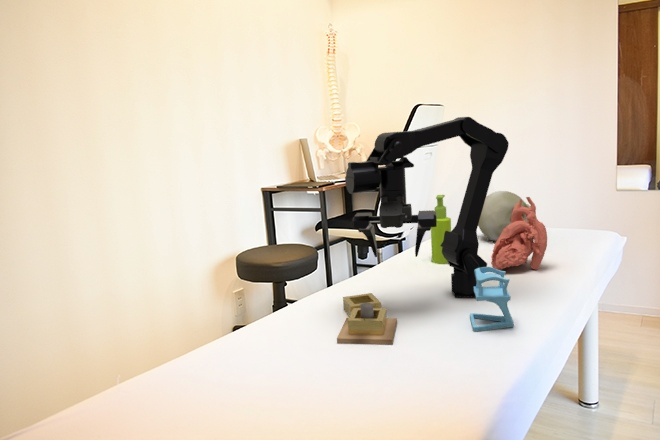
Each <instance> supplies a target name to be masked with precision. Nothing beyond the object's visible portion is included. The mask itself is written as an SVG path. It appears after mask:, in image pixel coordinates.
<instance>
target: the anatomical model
mask: <svg viewBox="0 0 660 440" xmlns="http://www.w3.org/2000/svg"><path fill="white" fill-rule="evenodd" d="M525 198H526V200H527V202H528V203H529V204H528V205H529V206H530V208H527V207H522V206H521V204H522V200H523V199H522V198H521V199H520V202H519V204H518V203H517V204H516V205H515V207H514V209H513V212H512V215H511V224H509V225H508V226H507V227H506V228H505V229H503V231H502V233H501V235H500V237H499V238H498V240H497V241H495V244H494V247H493V250H492V254H491V255H490V257H491V261H490V263H491V266H492V268H495V269H497V270H500V271H503V270H504V269H507V268H511V267H518V266H520V265H523V264H527V262H528V259H529V258H528V257H530V256H531V259H530V262H529V263H530V264H529V265H530V267H531V268H532V269H533V270H539V268H540V266H541V264H542V261H543V259H544V257H545V253H546V250H547V247H548V234H547V233H548V232H547V228H546V225H545V224H544V223H543V222H542V221H540V220H539V219H538V218H537V215H536V211H537V206H536V205H535V203H534V202H533V200H532V198H531V197H530V196H526V197H525ZM522 214H525V215H526V216H527V217H526V219H527V220H528V221H529V222H526V221H525V220H524V219H523V217H522ZM531 254H532V255H531Z"/></svg>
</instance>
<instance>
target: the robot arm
mask: <svg viewBox="0 0 660 440" xmlns="http://www.w3.org/2000/svg"><path fill="white" fill-rule="evenodd" d="M457 137H459V138H460V139H461V140H462V141H463V143H464V144H465V145H467V146H468V147H470V153H469V159H470V162H471V172H470V175H469V178H468V182H467V185H466V190H465V193H464V196H463V200H462V202H461V207H460V211H459V215H458V217H457V220H456V224H455V226H454V227H453V228H452V229H451V232H449V231H445V233H444V240H443V242H442V244H441V245H440V246H441V247H442V254H443V256H444V258H445V259H446V260H447V261H448V263H447V264H448V265H449V267H451V268H453V272H452V273H451V275H450V277H451V280H450V281H451V282H450V283H451V284H450V285H451V293H452V294H453V297H454V298H476V296H475V293H474V286H476V284H477V281H476V277H475V272H474V270H475V269H477V268H481V267H488V263H487V262H486V261H485V260H484V259H483V258H482V257H481V256H480V255H479V253H478V251H479V237H478V233H477V232H478V231H477V230H478V228H479V226H478V224H479V220H480V217H481V213H482V209H483V206H484V202H485V199H486V197H487V196H488V191H489V187H490V184H491V181H492V177H493V174H494V172H495V171H496V169H498V167H499V166H500V165H501V164H502V163H503V162H504V159H505V157H506V154H507V153H508V150H509V144H510V143H509V141H508V139H507V137H506V136H505V135H504V134H503V133H501V132H496V131H494V129H491V128H490V127H487V126H485V125H483V124H481V123H479V122H478V121H476V119H474V118H473V117H470V116H461V117H455V118H454V119H452V120H448V121H444V122H441V123H440V122H439V123H437V124H433V125H429V126H425V127H421V128H418V129H414V130H407V131H406V130H405V131H392V132H391V131H389V132H382V133H380V134H378V135H377V137H376V139H375V141H374V148H373V149H372V150H371V152H370V154H369V156H368V157H367V159H366V161H362V162H361V161H359V162H355V161H352V162H351V161H350V162H347V169H346V173H345V177H344V182H345V188H346V191H347V192H348V193H349V194H351V195H352V194H360V193H371V192H375V191H377V189H378V188H379V191H380V192H379V194H380V204H379V210H378V212H379V213H378V215H373V212H356V214H355V215H354V216H353V217H352V219H351V228H352V230H358V233H362V234H363V235H364V236H365V238H366V239H367V240H368V241H367V242H368V243H369V245H370V246H369V247H370V248H371V251H372V252H373V255H374V258H378V246H377V238H376V237H377V236H376V230H375V226H374V225H379V226H380V228H382V229H387V228H396V229H397V228H399V229H400V228H402V227H403V226H404V224H417V227H416V228H417V229H416V238H415V247H414V248H415V249H414V254H415V257H416V258H417V257H418V255H419V252H420V249H421V244H422V240H423V238H424V236H425V234H426V232H427V231H428V232H429V231H430V232H431V227H436V226H437V215H436V212H435V209H434V210H419V211H418V213H417V214H413V210H412V203H407V187H406V185H407V184H406V183H407V182H406V169H408V168H414V167H415V164H414V163H413V162H412V161H410V160H409V159H408V157H407V155H410V154H412V153H413V152H416V150H418V149H419V148H421V147H425V146H428V145H432V144H435V143H439V142H442V141H446V140H450V139H453V138H454V139H455V138H457Z"/></svg>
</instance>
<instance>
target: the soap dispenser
mask: <svg viewBox="0 0 660 440" xmlns="http://www.w3.org/2000/svg"><path fill="white" fill-rule="evenodd" d="M445 196H446V195H445V194H437V195H436V197H435V199H436V206H435V207H434V211H435V212H436V215H437V226H436V227H431V230H430V237H431V238H430V240H431V263H433V264H437V265H445V264H449V263H448V261H447V260H446V259H445V258H444V256H443V254H442V247H441V246H440V245H441V244H442V242H443V240H444V233H445V231H449V232H451V231H452V219H451V217H447V206H445V205H444V198H445Z"/></svg>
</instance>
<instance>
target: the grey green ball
mask: <svg viewBox="0 0 660 440" xmlns="http://www.w3.org/2000/svg"><path fill="white" fill-rule="evenodd" d="M520 199H522V197H521V196H519V195H517V194H516V193H514V192H511V191H507V190H498V191H495V192H492V193H490V194H487V195H486V199H485V202H484V206H483V209H482V213H481V217H480V220H479V224H478V229H479V230H480V232H481V233H482V234H483V235H484V236H485V237H486V238H488V240H491V241H493V242H496V241H497V240H498V238H499V237H500V235H501V233H502V231H503V229H505V228H506V227H507V226H508V225H509V224H511V215H512V212H513V209H514V207H515V205H516V204H517V203H518V204H519V202H520ZM521 206H522V207H527V208H530V206H531V205H530V204H527V202H525V201H524V199H522V204H521ZM522 217H523V219H524V220H525V221H526V222H529V221H528V220H527V219H526V217H527V216H526V215H525V214H522Z"/></svg>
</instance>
